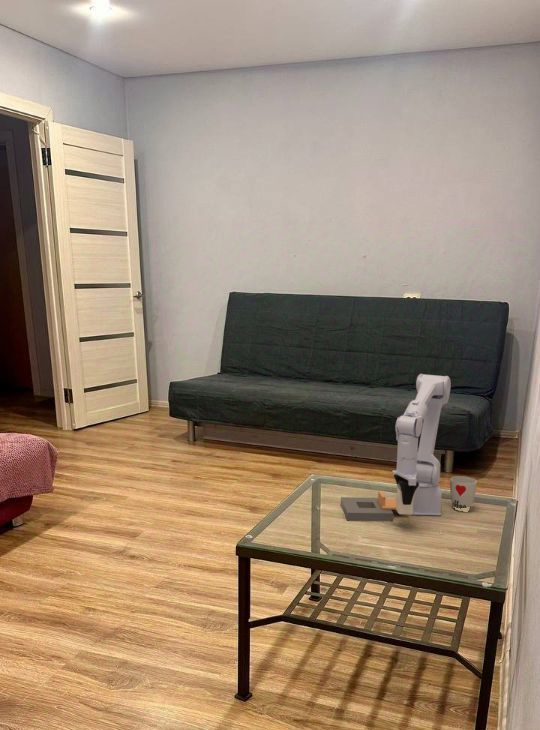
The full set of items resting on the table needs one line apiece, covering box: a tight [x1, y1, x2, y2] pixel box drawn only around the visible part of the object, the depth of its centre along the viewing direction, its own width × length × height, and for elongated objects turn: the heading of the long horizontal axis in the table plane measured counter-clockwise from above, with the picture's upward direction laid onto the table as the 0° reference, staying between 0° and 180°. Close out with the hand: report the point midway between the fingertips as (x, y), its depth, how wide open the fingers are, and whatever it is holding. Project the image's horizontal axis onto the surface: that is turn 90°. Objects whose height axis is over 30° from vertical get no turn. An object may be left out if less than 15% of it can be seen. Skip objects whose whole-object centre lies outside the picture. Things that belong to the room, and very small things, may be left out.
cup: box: [449, 475, 478, 509], centre depth 192 cm, size 8×8×10 cm
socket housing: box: [340, 496, 394, 522], centre depth 188 cm, size 14×14×2 cm
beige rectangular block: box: [395, 483, 414, 515], centre depth 175 cm, size 4×4×8 cm
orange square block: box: [377, 490, 397, 511], centre depth 187 cm, size 8×8×4 cm
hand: (404, 501), depth 175 cm, fingers closed on beige rectangular block, 4 cm apart
